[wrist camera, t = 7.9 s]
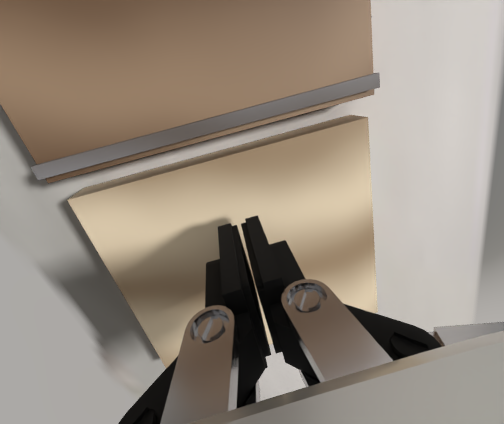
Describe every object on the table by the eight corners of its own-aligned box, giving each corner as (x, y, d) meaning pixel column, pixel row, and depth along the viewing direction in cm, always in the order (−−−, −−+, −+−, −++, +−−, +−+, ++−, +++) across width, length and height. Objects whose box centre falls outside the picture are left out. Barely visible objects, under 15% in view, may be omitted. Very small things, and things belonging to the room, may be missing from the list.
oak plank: (83, 188, 12) (67, 199, 10) (350, 114, 12) (367, 117, 11) (173, 351, 16) (169, 374, 15) (364, 294, 17) (377, 312, 15)
